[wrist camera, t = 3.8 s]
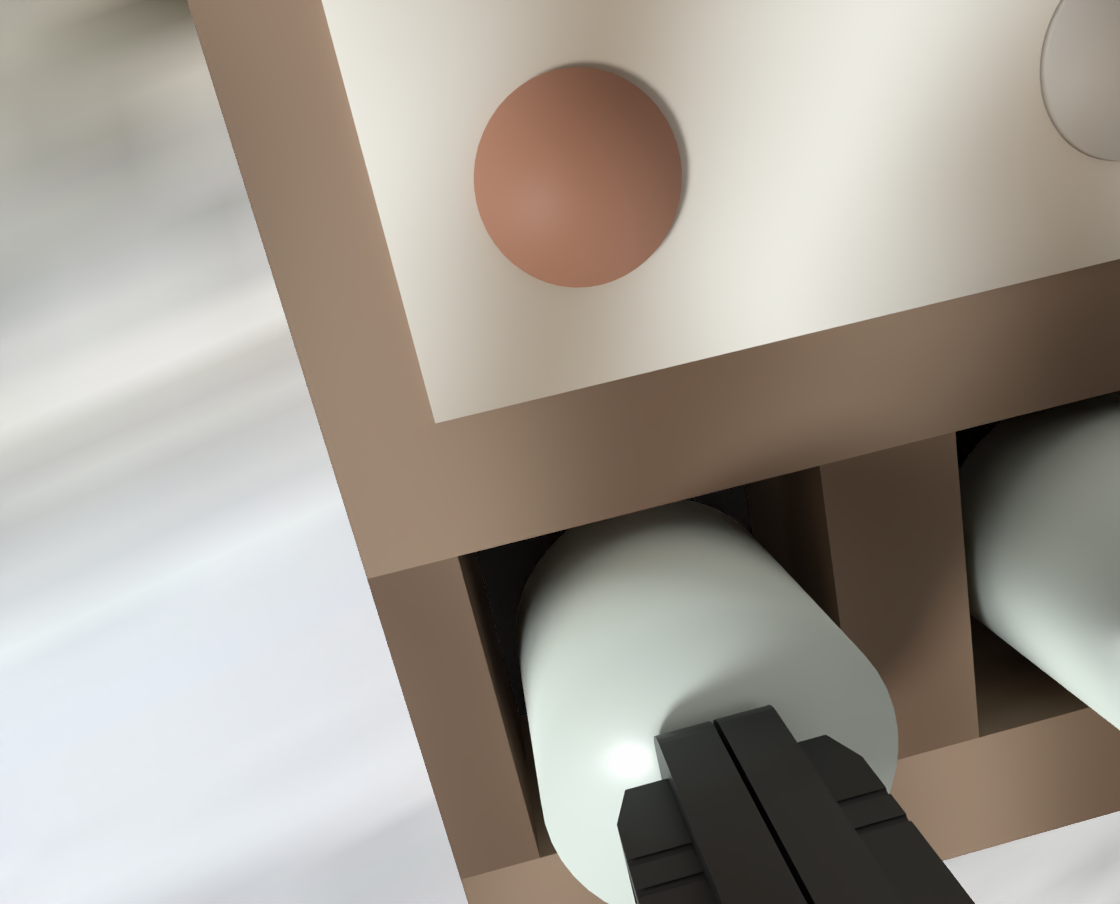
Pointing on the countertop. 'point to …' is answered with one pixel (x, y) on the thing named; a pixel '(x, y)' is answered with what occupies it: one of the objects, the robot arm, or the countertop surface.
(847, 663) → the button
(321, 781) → the countertop surface
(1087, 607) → the button middle
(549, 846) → the brown wooden tray
